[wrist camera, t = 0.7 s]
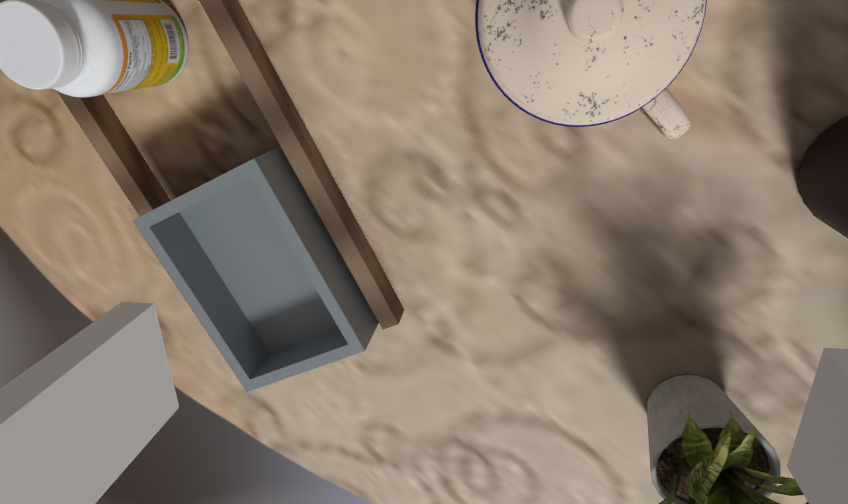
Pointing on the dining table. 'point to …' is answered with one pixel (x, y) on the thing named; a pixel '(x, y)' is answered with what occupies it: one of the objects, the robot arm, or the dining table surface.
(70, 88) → the supplement bottle
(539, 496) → the dining table surface
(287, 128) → the bay
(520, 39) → the teacup with lid
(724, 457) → the house plant
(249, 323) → the box
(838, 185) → the vinegar
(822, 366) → the robot arm
